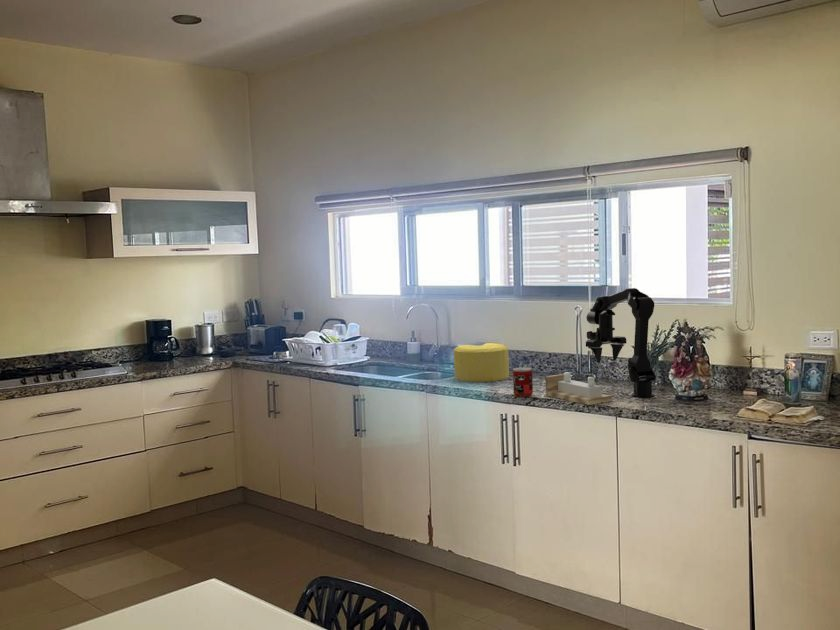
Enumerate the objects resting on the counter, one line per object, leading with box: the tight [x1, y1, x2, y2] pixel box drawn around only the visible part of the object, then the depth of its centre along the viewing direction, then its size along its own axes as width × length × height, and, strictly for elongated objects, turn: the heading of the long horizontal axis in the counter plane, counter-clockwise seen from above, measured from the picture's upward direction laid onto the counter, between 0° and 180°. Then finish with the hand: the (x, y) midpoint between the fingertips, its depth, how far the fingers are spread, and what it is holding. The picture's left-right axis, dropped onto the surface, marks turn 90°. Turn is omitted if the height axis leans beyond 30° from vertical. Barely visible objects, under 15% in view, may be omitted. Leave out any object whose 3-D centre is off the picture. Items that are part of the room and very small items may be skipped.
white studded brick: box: [558, 371, 603, 398], centre depth 316 cm, size 20×6×8 cm, turn 27°
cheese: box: [453, 342, 510, 383], centre depth 378 cm, size 26×26×15 cm
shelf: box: [545, 373, 613, 406], centre depth 317 cm, size 26×12×8 cm, turn 31°
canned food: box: [512, 366, 534, 397], centre depth 329 cm, size 8×8×11 cm
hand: (606, 361), depth 337 cm, fingers open, 9 cm apart
